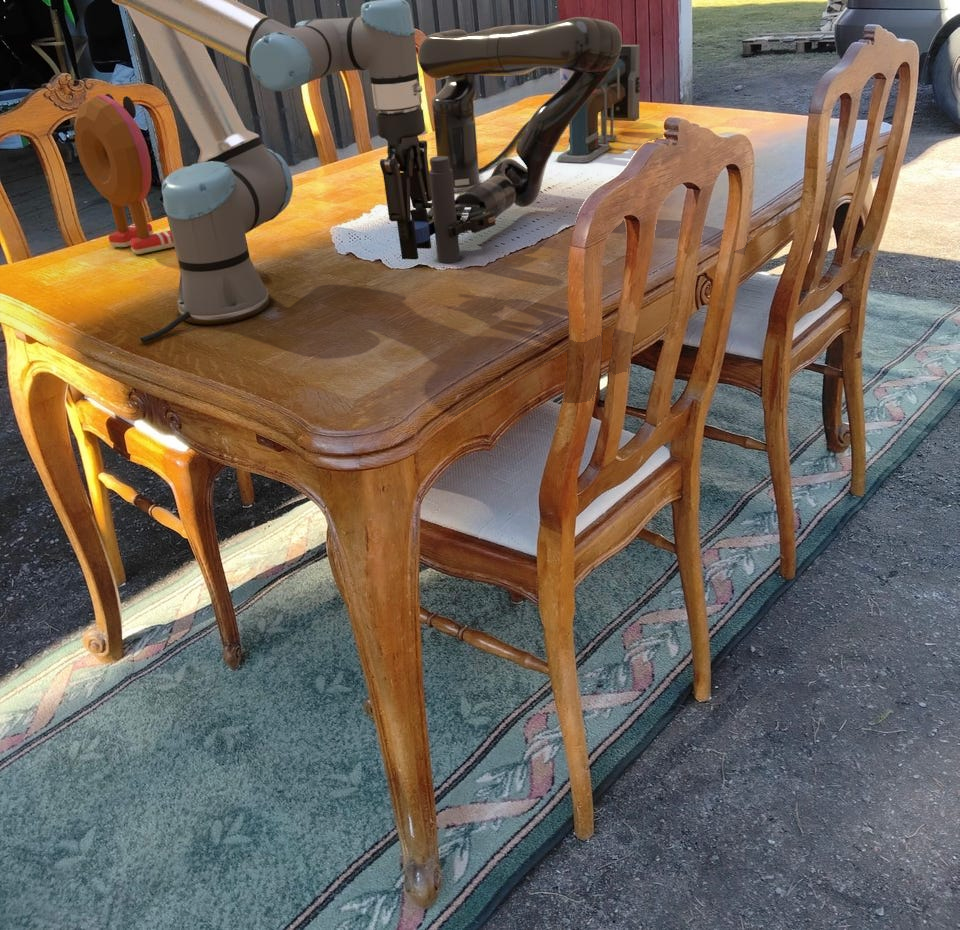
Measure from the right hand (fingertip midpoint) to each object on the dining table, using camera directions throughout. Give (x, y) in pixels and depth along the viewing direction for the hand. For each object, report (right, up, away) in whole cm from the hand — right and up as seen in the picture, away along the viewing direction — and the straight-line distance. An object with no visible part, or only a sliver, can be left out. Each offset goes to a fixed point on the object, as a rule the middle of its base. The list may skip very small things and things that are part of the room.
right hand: (438, 231), depth 175 cm
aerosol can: (+35, +57, +103) cm, 123 cm away
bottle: (+2, -4, +5) cm, 7 cm away
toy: (-63, +4, +27) cm, 69 cm away
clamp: (+38, +40, +74) cm, 92 cm away
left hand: (-3, -6, -12) cm, 14 cm away
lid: (-3, -3, -14) cm, 15 cm away
